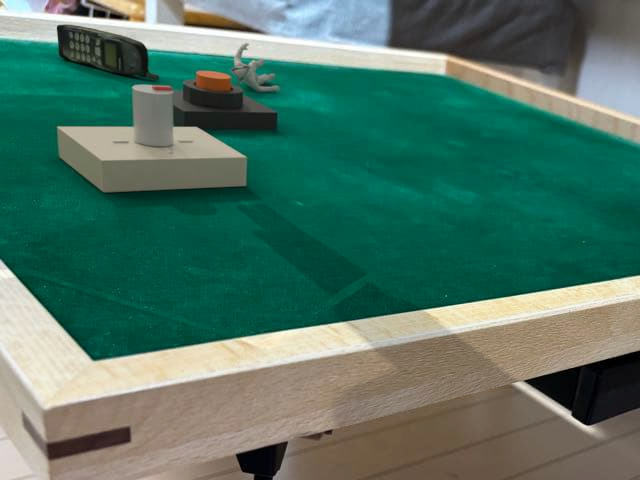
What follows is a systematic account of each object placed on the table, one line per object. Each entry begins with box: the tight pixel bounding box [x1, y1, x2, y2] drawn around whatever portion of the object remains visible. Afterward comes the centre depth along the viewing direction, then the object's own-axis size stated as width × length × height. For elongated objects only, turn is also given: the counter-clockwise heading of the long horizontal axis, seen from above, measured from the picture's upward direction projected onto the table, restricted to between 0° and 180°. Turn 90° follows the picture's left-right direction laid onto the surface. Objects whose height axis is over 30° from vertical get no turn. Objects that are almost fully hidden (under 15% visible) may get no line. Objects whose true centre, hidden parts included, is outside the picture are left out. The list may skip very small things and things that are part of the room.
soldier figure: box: [229, 43, 281, 93], centre depth 129 cm, size 8×5×12 cm
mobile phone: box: [56, 23, 160, 81], centre depth 121 cm, size 5×3×15 cm
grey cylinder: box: [131, 84, 174, 147], centre depth 85 cm, size 4×4×5 cm
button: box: [195, 70, 232, 91], centre depth 108 cm, size 4×4×2 cm
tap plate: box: [56, 126, 248, 194], centre depth 87 cm, size 14×11×3 cm
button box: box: [172, 78, 279, 131], centre depth 109 cm, size 12×10×4 cm
